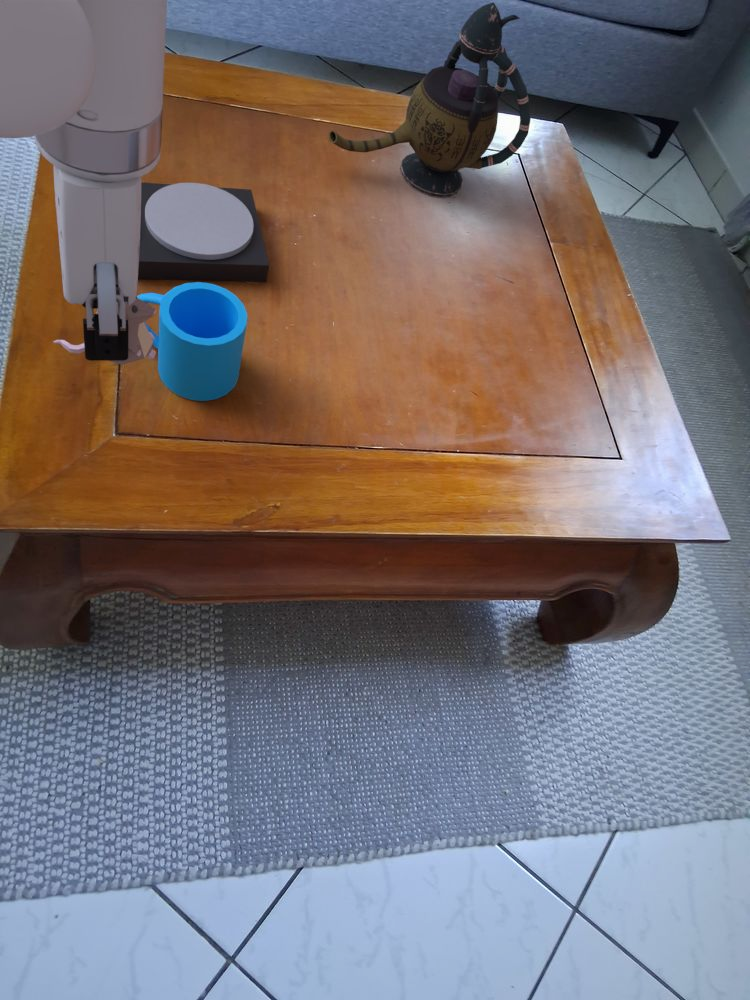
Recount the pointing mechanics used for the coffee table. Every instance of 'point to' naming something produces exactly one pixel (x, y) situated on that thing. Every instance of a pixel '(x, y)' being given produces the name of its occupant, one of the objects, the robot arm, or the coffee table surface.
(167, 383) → the mug
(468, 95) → the teapot
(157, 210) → the kitchen scale
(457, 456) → the coffee table surface
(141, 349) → the mouse figurine
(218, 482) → the coffee table surface
